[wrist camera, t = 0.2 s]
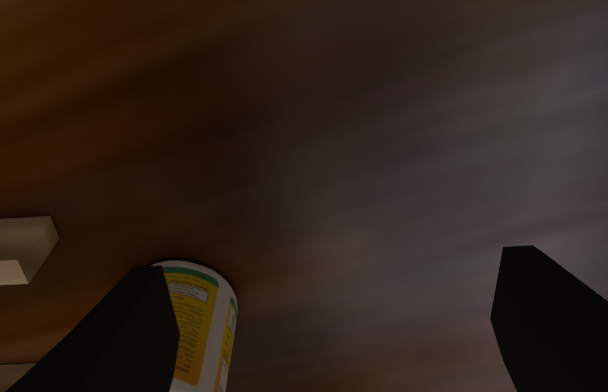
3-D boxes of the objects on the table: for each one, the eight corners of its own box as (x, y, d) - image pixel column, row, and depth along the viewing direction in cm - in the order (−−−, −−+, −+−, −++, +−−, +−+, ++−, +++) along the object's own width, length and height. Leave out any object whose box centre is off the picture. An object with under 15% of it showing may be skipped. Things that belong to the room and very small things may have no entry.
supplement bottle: (259, 312, 25) (240, 521, 17) (174, 351, 26) (117, 560, 18) (193, 237, 22) (131, 439, 14) (103, 284, 24) (0, 492, 16)
